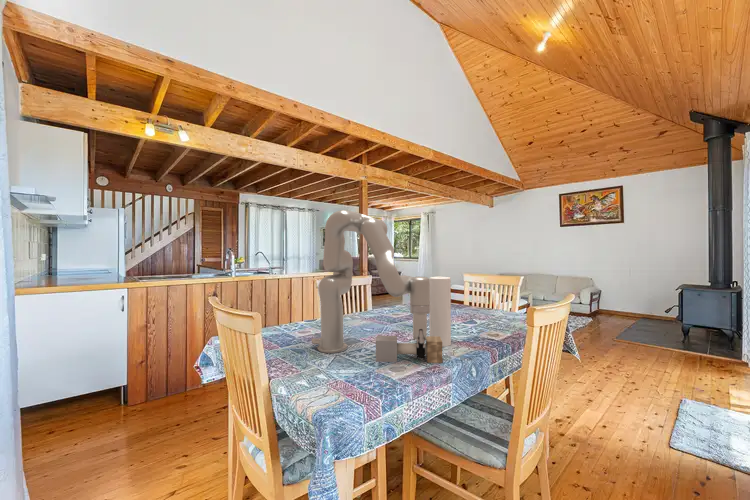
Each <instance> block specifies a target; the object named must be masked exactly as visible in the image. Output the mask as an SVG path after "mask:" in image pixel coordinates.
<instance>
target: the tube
mask: <svg viewBox="0 0 750 500" xmlns="http://www.w3.org/2000/svg"><path fill="white" fill-rule="evenodd" d="M424 346H425V356H426V355H427V343H426V342H424ZM416 347H417V343H416V342H413V343H412V342H397V355H411V356H413V355H414V356H415V355H416V356H417V354H416Z"/></svg>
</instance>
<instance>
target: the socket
mask: <svg viewBox="0 0 750 500" xmlns="http://www.w3.org/2000/svg"><path fill="white" fill-rule="evenodd" d="M425 343H427V355H425V359H426V362H427V363H428V364H442V363H443V347H442V340H441V337H440V336H430V335H429V336H428V335H427V336H426V340H425Z"/></svg>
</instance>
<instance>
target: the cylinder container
mask: <svg viewBox="0 0 750 500" xmlns="http://www.w3.org/2000/svg"><path fill="white" fill-rule="evenodd" d="M429 280H430V313H429V314H428V316H429V317H428V318H429V336H440V337H441V340H442V348H444V347H449V346H451V344H452V319H451V318H452V317H451V316H452V312H451V311H452V308H451V307H452V299H451V296H452V295H451V292H452V291H451V290H452V288H451V287H452V285H451V283H452V282H451V281H452V280H451V277H450V276H449V277H447V276H443V275H442V276H440V275H439V276H438V275H437V276H431V277H429Z"/></svg>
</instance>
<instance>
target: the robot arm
mask: <svg viewBox="0 0 750 500" xmlns="http://www.w3.org/2000/svg"><path fill="white" fill-rule="evenodd" d="M345 232H354V233H357V234H361V235H362V236H363V238H364V240H365V242H366V243H367V245H368V247H369V250H370V251H371V253H372V255H373V257H374V260H375V266H376V270H377V274H378V276H379V278H380V281H381V283H382V285H383V287H384V289H385V290H386V292H387V293H388V294H389V295H390V296H391V297H394V298H400V297H402V296H404V295H407V294H409V304H410V305H409V306H410V307H409V309H410V314H412V339H413V340H414V341H416V342H415V343H417V347H416V354H417V355H416V359H426V355H425V346H424V343H425V341H426V336H428V335H427V330H428V315H429V313H430V280H429V278H428V277H427V276H410V275H405V274H404V275H400V273H399V272H398V270H397V268H396V264H395V261H394V257H395V256H394V255H395V249H394V246H393V245H392V242H391V241H390V239H389V237H388V235H387V234H388V225H387V224H386V222H384V220H382V219H379V218H375V217H371V216H369V215H366V214H362V213H360V212H356V211H351V210H348V209H347V210H346V209H344V210H343V209H342V210H337V211H335V212H333V213H332V214H331V215H329V217H328V219H327V220H326V223H325V229H324V248H323V259H322V260H323V261H322V263H323V264H322V265H323V268H324V269H325V271H327V272H328V273H332V274H330V275H327V276H324V277H323V278H322V279H320V281H319V284H318V294H319V295H318V296H319V302H320V337H319V338H313V337H312V338H311V343H312V345H317V351H319V352H321V353H325V354H326V353H327V354H335V353H341V352H344V351H346V350H348V344H347V343H345V342H344V306H343V300H342V295H345V294H347V293H348V292H349V291H350V290H351V287H352V283H353V282H352V281H353V271H354V270H353V269H354V260H353V256H352V254H351V253H350V252H349V251H347V250H345V245H346V244H345V235H344V233H345Z"/></svg>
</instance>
